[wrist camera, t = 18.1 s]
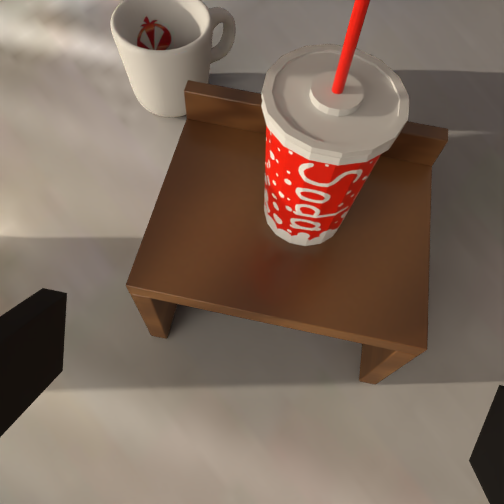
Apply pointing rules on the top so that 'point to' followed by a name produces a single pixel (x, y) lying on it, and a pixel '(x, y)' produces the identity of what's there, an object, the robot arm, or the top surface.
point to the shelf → (282, 252)
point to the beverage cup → (326, 132)
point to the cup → (168, 48)
